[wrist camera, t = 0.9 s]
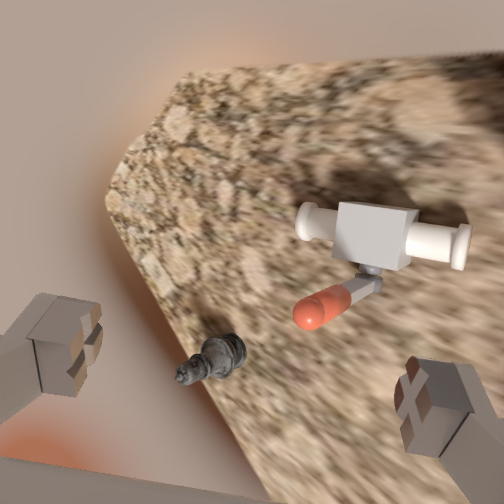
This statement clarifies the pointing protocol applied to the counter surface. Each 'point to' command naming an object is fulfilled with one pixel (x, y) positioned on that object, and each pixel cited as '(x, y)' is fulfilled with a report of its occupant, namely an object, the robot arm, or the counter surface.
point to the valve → (382, 235)
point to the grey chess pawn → (213, 359)
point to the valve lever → (334, 300)
